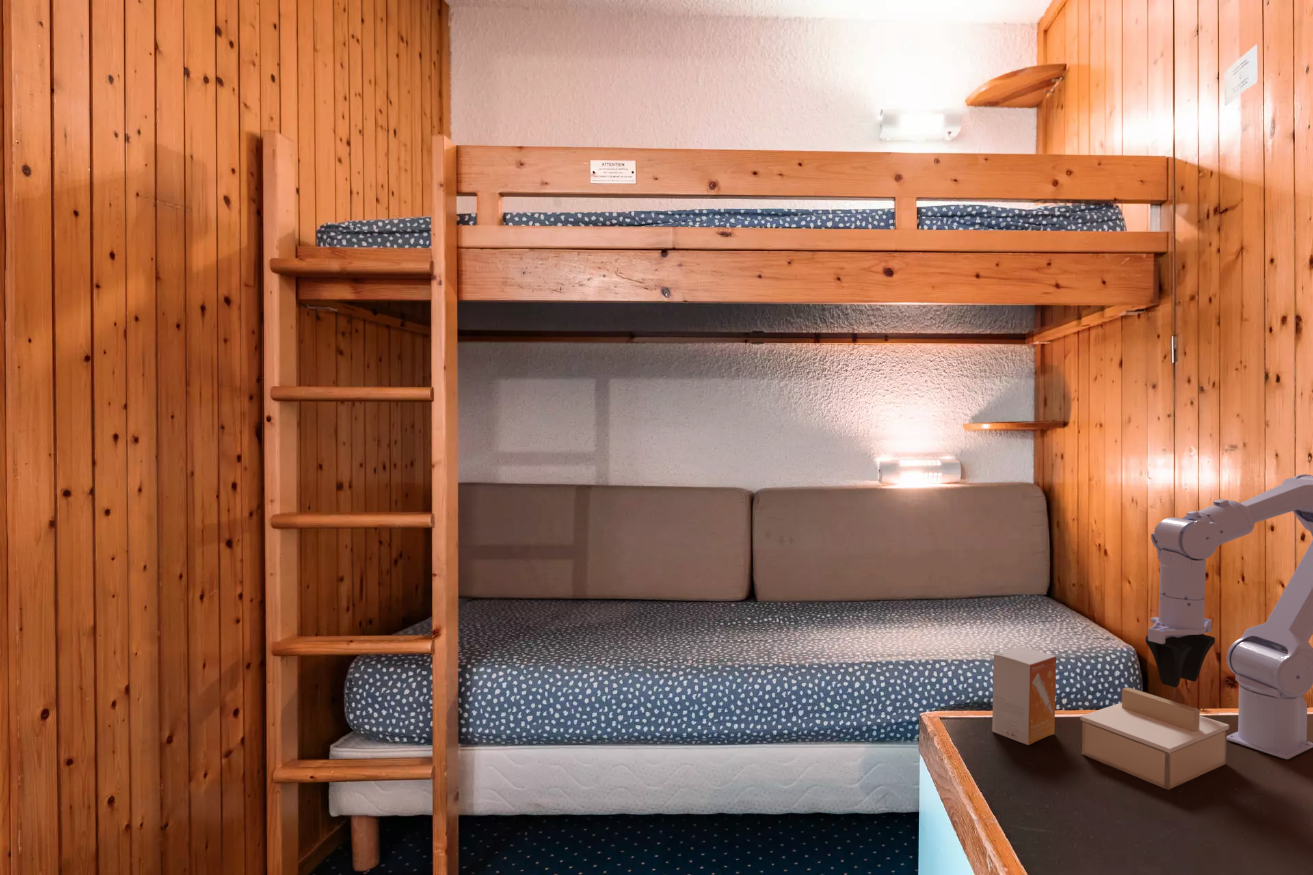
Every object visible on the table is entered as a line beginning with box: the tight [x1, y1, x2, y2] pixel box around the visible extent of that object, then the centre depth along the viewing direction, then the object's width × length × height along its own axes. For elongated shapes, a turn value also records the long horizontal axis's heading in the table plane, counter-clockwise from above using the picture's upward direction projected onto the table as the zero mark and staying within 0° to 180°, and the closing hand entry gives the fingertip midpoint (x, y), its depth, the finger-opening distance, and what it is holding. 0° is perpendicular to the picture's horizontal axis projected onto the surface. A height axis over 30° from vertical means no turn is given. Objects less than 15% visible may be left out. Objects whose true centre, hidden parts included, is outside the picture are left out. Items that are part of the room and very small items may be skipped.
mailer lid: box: [1079, 686, 1230, 753], centre depth 108 cm, size 16×12×4 cm
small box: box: [991, 645, 1057, 746], centre depth 117 cm, size 8×6×13 cm
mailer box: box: [1081, 721, 1228, 791], centre depth 108 cm, size 16×12×5 cm
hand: (1178, 682), depth 112 cm, fingers open, 5 cm apart
